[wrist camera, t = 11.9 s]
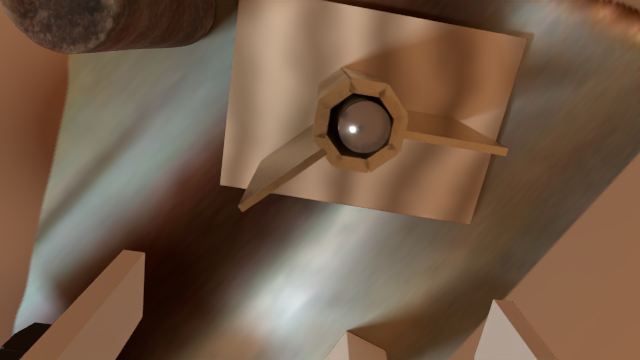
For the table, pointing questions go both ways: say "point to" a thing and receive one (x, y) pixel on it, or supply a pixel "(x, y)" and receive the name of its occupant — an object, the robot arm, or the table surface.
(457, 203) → the board
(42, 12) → the candle
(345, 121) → the hinge pin
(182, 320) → the table surface
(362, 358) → the milk
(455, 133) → the hinge
